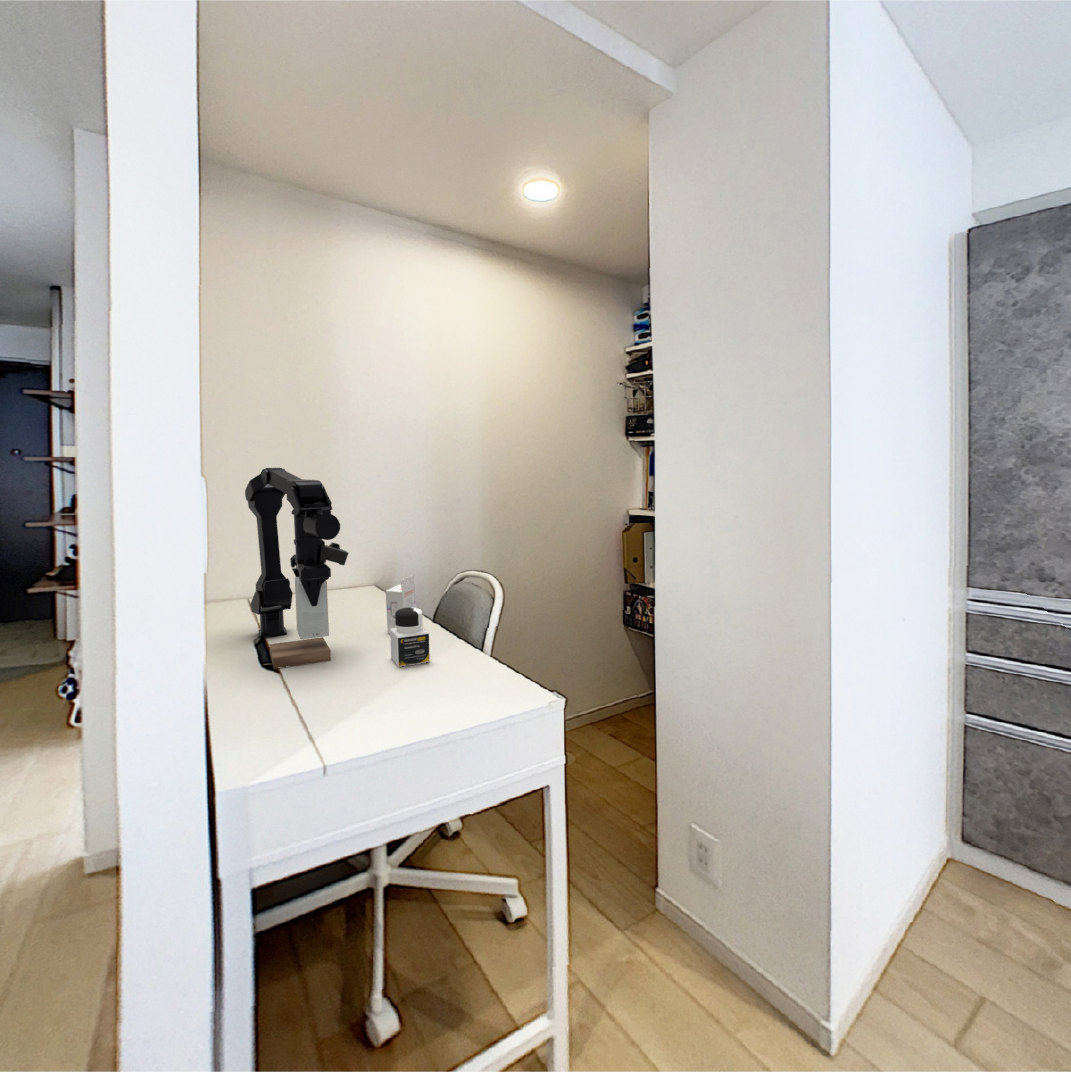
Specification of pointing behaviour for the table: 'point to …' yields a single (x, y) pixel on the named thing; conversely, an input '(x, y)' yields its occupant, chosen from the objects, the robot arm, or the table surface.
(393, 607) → the ink cartridge box
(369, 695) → the table surface
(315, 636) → the small box
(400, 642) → the medicine bottle
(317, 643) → the brown wooden slab
